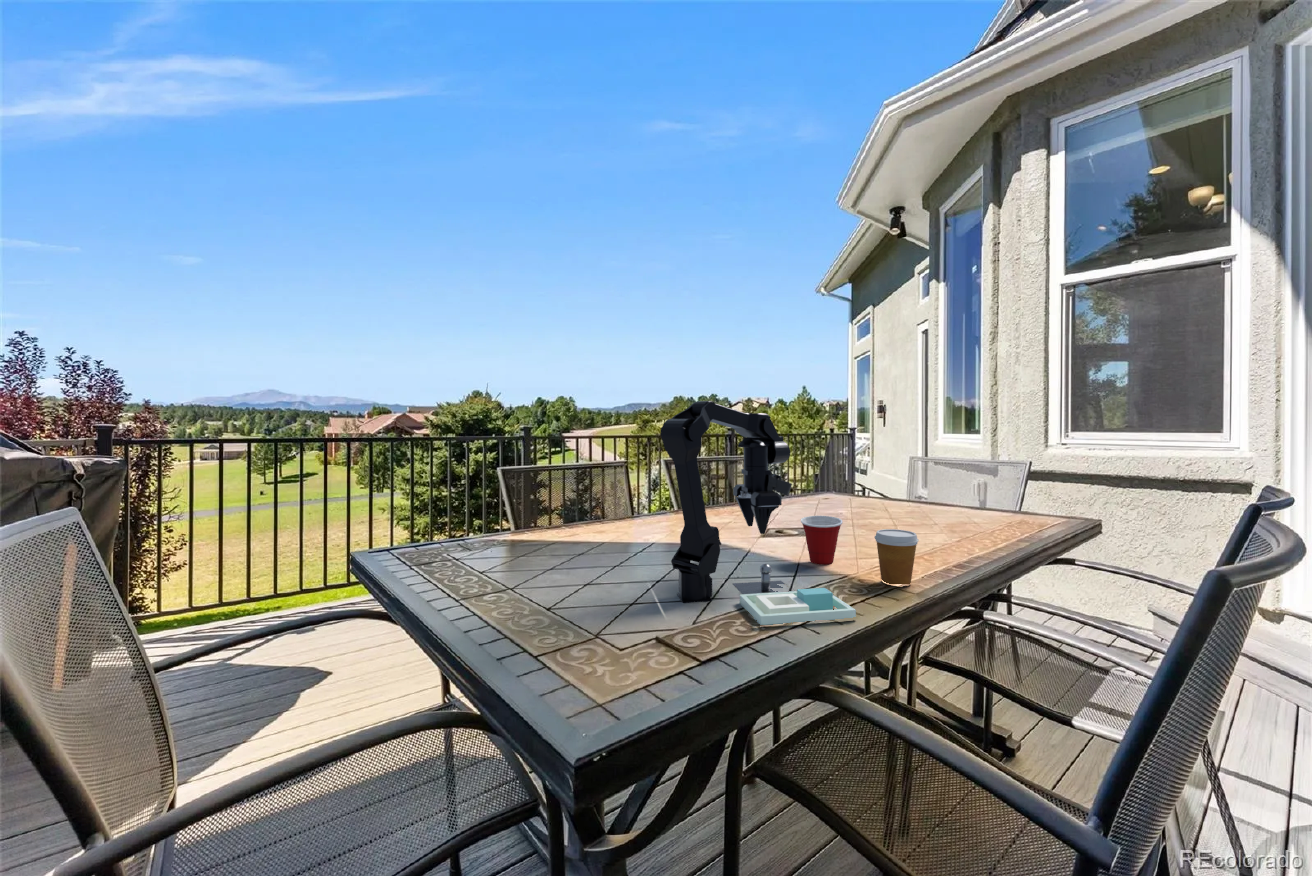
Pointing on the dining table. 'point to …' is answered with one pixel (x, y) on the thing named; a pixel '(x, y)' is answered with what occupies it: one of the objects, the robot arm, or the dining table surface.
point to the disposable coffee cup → (896, 555)
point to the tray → (779, 618)
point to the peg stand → (759, 583)
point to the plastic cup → (821, 537)
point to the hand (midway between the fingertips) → (756, 529)
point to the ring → (796, 601)
